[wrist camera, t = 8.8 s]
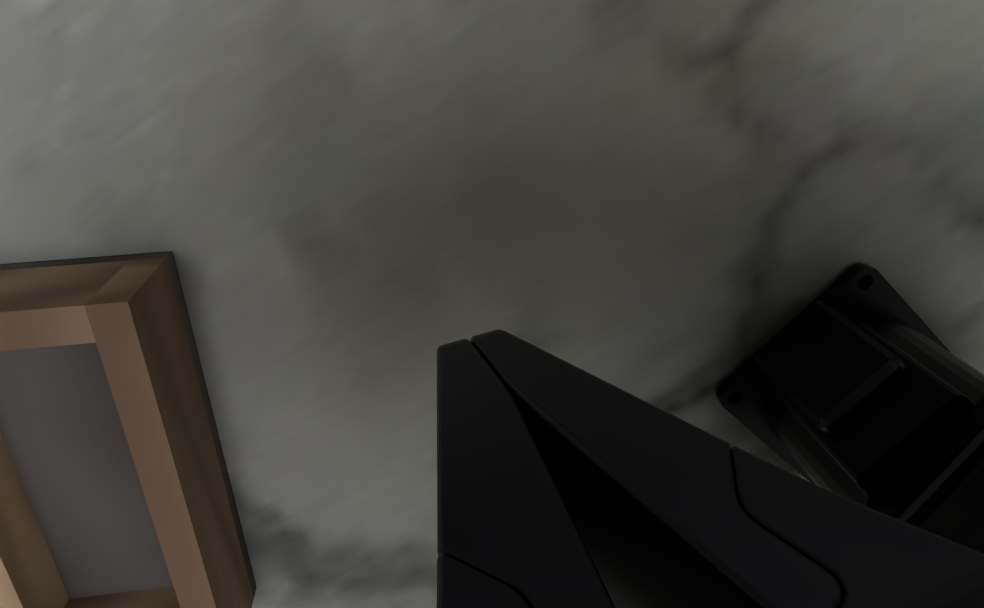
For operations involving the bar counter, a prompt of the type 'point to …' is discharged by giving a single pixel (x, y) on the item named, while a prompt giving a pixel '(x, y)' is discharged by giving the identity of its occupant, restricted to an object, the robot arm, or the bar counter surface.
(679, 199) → the bar counter surface
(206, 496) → the tray box
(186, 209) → the bar counter surface
